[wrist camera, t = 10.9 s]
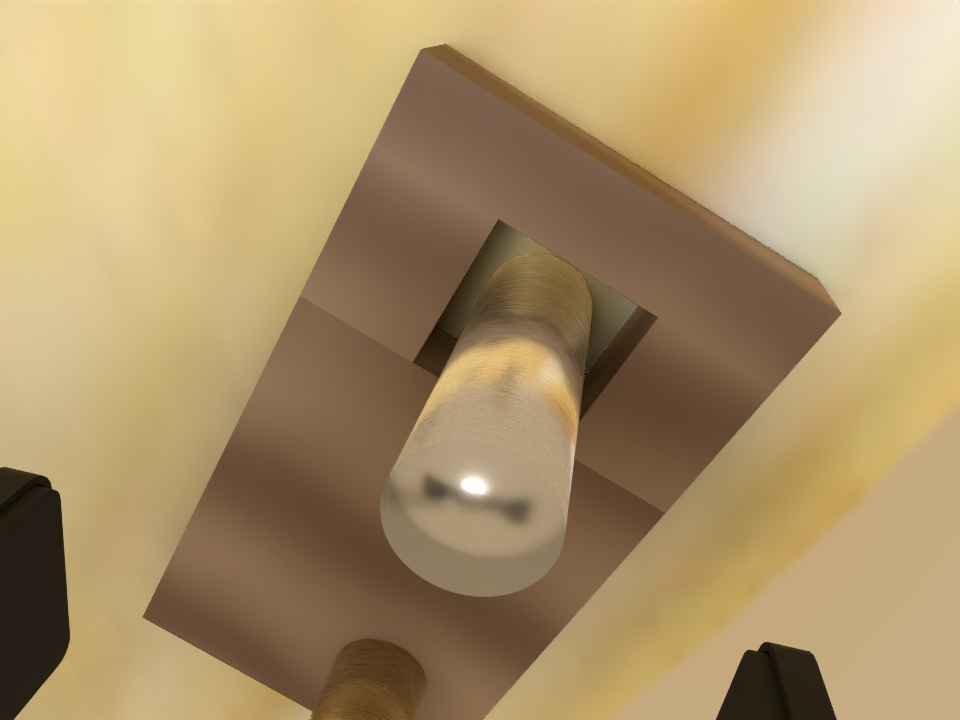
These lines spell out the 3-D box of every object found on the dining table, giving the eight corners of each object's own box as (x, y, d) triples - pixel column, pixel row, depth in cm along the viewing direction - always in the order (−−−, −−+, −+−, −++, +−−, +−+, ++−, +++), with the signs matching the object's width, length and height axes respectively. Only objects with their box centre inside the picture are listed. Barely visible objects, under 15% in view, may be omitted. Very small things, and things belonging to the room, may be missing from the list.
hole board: (447, 716, 29) (431, 777, 26) (181, 567, 28) (142, 617, 26) (817, 278, 20) (841, 313, 18) (445, 43, 19) (420, 49, 17)
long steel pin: (520, 372, 22) (446, 619, 13) (462, 286, 22) (344, 487, 13) (612, 325, 21) (600, 558, 12) (556, 232, 20) (498, 409, 12)
